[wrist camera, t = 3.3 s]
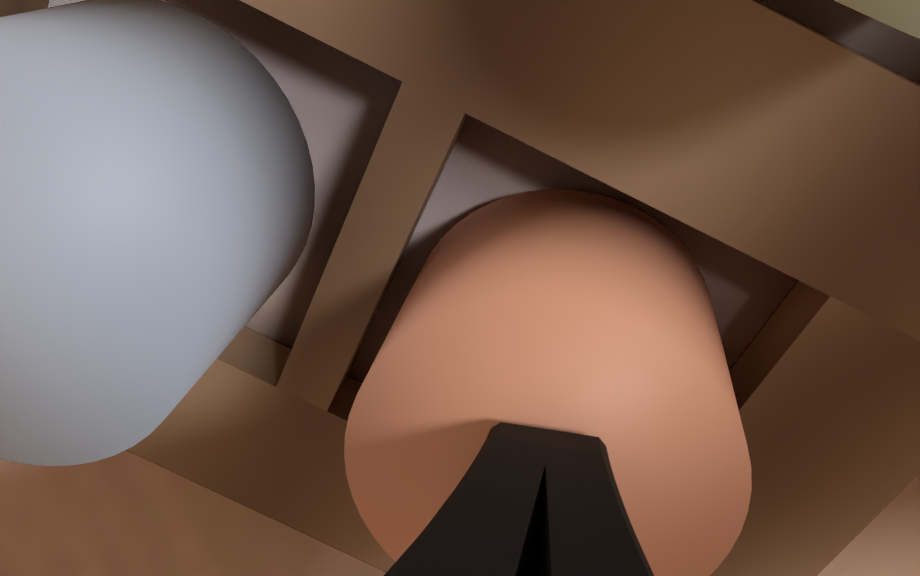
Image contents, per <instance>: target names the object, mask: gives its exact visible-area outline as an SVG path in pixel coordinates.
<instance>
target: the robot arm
mask: <svg viewBox="0 0 920 576" xmlns="http://www.w3.org/2000/svg"><path fill="white" fill-rule="evenodd" d="M384 576H654V574H653V572H652V570H651V568H650V565H649V563H648V561H647V559H646V556H645V554H644V552H643V550H642V548H641V545H640V543H639V541H638V539H637V536H636V534H635V532H634V529H633V527H632V524H631V522H630V519H629V517H628V514H627V512H626V509H625V506H624V504H623V501H622V498H621V496H620V493H619V490H618V487H617V484H616V481H615V478H614V475H613V471H612V468H611V464H610V461H609V457H608V452H607V447H606V445H605V444H604V443H603V442H602V440H601V439H600V438H599V437H595V436H589V435H582V434H576V433H569V432H562V431H556V430H549V429H543V428H536V427H530V426H523V425H517V424H510V423H504V422H500V423H498V424H497V425H495V426H494V427H492V428H491V429H490V431H489V434H488V436H487V438H486V440H485V442H484V444H483V446H482V447H481V449H480V451H479V453H478V454H477V456H476V458H475V459H474V461H473V463H472V464H471V466H470V467H469V469H468V470H467V472H466V473H465V475H464V476H463V478H462V479H461V481H460V482H459V484H458V485H457V487H456V488H455V489H454V491H453V492H452V493H451V495H450V496H449V497H448V499H447V500H446V501H445V503H444V504H443V505H442V507H441V508H440V509H439V510H438V512H437V513H436V514H435V516H434V517H433V518H432V520H431V521H430V522H429V524H428V525H427V526H426V527H425V529H424V530H423V531H422V532H421V534H420V535H419V536H418V537H417V538H416V539H415V541H414V542H413V543H412V544H411V545H410V546H409V547H408V549H407V550H406V551H405V552H404V553H403V554H402V555H401V557H400V558H399V559H398V560H397V561H396V562H395V563H394V565H393V566H392V567H391V568H390V569H389V570H388V571H387V573H386V574H385V575H384Z"/></svg>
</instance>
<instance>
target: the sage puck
mask: <svg viewBox="0 0 920 576" xmlns="http://www.w3.org/2000/svg"><path fill="white" fill-rule="evenodd" d="M834 1H836V2H838V3H841V4H843V5H845V6H847V7H849V8H852V9H854V10H856V11H858V12H860V13H862V14H865V15H867V16H869V17H871V18H873V19H876V20H878V21H880V22H882V23H884V24H886V25H889V26H891V27H893V28H895V29H898V30H900V31H902V32H905V33H907V34H909V35H912V36H914V37H916V38H919V39H920V0H834Z"/></svg>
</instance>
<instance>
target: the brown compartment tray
mask: <svg viewBox="0 0 920 576" xmlns="http://www.w3.org/2000/svg"><path fill="white" fill-rule="evenodd" d="M48 1H49V0H0V17H4V16H9V15H14V14H19V13H25V12H30V11H35V10H40V9H45V8H47V6H48ZM240 1H242V2H244V3H246V4H248V5H250V6H252V7H254V8H256V9H258V10H260V11H262V12H264V13H266V14H268V15H270V16H272V17H274V18H276V19H278V20H280V21H282V22H284V23H286V24H288V25H290V26H292V27H294V28H296V29H298V30H300V31H302V32H304V33H306V34H308V35H310V36H312V37H314V38H316V39H318V40H320V41H322V42H324V43H326V44H328V45H330V46H332V47H334V48H336V49H338V50H340V51H342V52H344V53H346V54H348V55H350V56H352V57H354V58H356V59H358V60H360V61H362V62H364V63H366V64H368V65H370V66H372V67H374V68H376V69H378V70H380V71H382V72H384V73H386V74H388V75H390V76H392V77H394V78H396V79H398V80H400V81H402V84H401V87H400V89H399V91H398V94H397V96H396V99H395V101H394V103H393V106H392V108H391V111H390V113H389V116H388V118H387V120H386V123H385V125H384V128H383V130H382V132H381V135H380V137H379V140H378V142H377V145H376V147H375V149H374V152H373V154H372V157H371V159H370V161H369V164H368V166H367V169H366V171H365V174H364V176H363V178H362V181H361V183H360V186H359V188H358V190H357V193H356V195H355V198H354V200H353V203H352V205H351V207H350V210H349V212H348V215H347V217H346V219H345V222H344V224H343V227H342V229H341V232H340V234H339V236H338V239H337V241H336V244H335V246H334V248H333V251H332V253H331V256H330V258H329V261H328V263H327V265H326V268H325V270H324V273H323V275H322V277H321V280H320V282H319V285H318V287H317V290H316V292H315V294H314V297H313V299H312V302H311V304H310V306H309V309H308V311H307V314H306V316H305V319H304V321H303V323H302V326H301V328H300V331H299V333H298V335H297V338H296V340H295V343H294V345H293V348H292V349H290V348H288V347H286V346H284V345H282V344H280V343H278V342H276V341H273V340H271V339H269V338H267V337H265V336H263V335H261V334H259V333H257V332H255V331H253V330H251V329H249V328H246V327H243V329H242V330H241V331H240V332H239V333H238V334H237V336H236V337H235V338H234V339H233V340H232V341H231V343H230V344H229V345H228V346H227V347H226V348H225V350H224V351H223V352H222V353H221V354H220V355H219V357H218V358H217V359H216V360H215V361H214V362H213V364H212V365H211V366H210V367H209V368H208V369H207V371H206V372H205V373H204V374H203V375H202V376H201V378H200V379H199V380H198V381H197V382H196V383H195V385H194V386H193V387H192V388H191V389H190V390H189V392H188V393H187V394H186V395H185V396H184V397H183V399H182V400H181V401H180V402H179V403H178V404H177V406H176V407H175V408H174V409H173V410H172V411H171V413H170V414H169V415H168V416H167V417H166V418H165V419H164V421H163V422H162V423H161V424H160V425H159V426H158V427H157V428H156V429H155V430H154V431H153V432H152V433H151V434H150V435H148V436H147V437H146V438H144V439H143V440H141V441H140V442H139V443H137V444H136V445H134V446H133V447H131V448H129V449H127V451H129V452H131V453H133V454H136V455H138V456H140V457H142V458H144V459H146V460H148V461H150V462H153V463H155V464H157V465H159V466H161V467H163V468H165V469H167V470H170V471H172V472H174V473H176V474H178V475H180V476H182V477H184V478H187V479H189V480H191V481H193V482H195V483H197V484H199V485H201V486H204V487H206V488H208V489H210V490H212V491H214V492H216V493H219V494H221V495H223V496H225V497H227V498H229V499H231V500H233V501H236V502H238V503H240V504H242V505H244V506H246V507H248V508H250V509H253V510H255V511H257V512H259V513H261V514H263V515H265V516H267V517H270V518H272V519H274V520H276V521H278V522H280V523H282V524H284V525H287V526H289V527H291V528H293V529H295V530H297V531H299V532H301V533H304V534H306V535H308V536H310V537H312V538H314V539H316V540H319V541H321V542H323V543H325V544H327V545H329V546H331V547H333V548H336V549H338V550H340V551H342V552H344V553H346V554H348V555H350V556H353V557H355V558H357V559H359V560H361V561H363V562H365V563H367V564H370V565H372V566H374V567H376V568H378V569H380V570H382V571H384V572H387V571H388V570H389V569H390V568H391V567H392V566H393V565H394V563H395V561H394V560H393V559H392V558H391V557H390V556H389V555H388V554H387V553H386V552H385V551H384V550H383V548H382V547H381V546H380V544H379V543H378V542H377V540H376V539H375V538H374V537H373V535H372V534H371V533H370V531H369V529H368V528H367V526H366V524H365V522H364V521H363V519H362V517H361V516H360V514H359V511H358V509H357V507H356V504H355V502H354V500H353V497H352V495H351V491H350V487H349V484H348V480H347V476H346V468H345V459H344V444H345V432H346V427H347V422H348V417H349V413H350V411H351V408H352V406H353V403H354V400H355V398H356V395H357V393H358V391H359V389H360V387H361V385H362V383H361V382H359V381H357V380H355V379H352V378H350V377H348V376H347V374H348V372H349V370H350V367H351V365H352V363H353V361H354V359H355V357H356V355H357V352H358V350H359V348H360V346H361V344H362V342H363V339H364V337H365V335H366V333H367V331H368V329H369V327H370V324H371V322H372V320H373V318H374V316H375V314H376V312H377V309H378V307H379V305H380V303H381V301H382V299H383V297H384V294H385V292H386V290H387V288H388V286H389V284H390V282H391V279H392V277H393V275H394V273H395V271H396V269H397V267H398V264H399V262H400V260H401V258H402V256H403V254H404V251H405V249H406V247H407V245H408V243H409V241H410V239H411V236H412V234H413V232H414V230H415V228H416V226H417V224H418V221H419V219H420V217H421V215H422V213H423V211H424V209H425V206H426V204H427V202H428V200H429V198H430V196H431V194H432V191H433V189H434V187H435V185H436V183H437V181H438V178H439V176H440V174H441V172H442V170H443V168H444V166H445V163H446V161H447V159H448V157H449V155H450V153H451V151H452V148H453V146H454V144H455V142H456V140H457V138H458V136H459V133H460V131H461V129H462V127H463V125H464V123H465V121H466V118H467V116H468V115H470V116H472V117H474V118H476V119H478V120H480V121H482V122H484V123H486V124H488V125H490V126H492V127H494V128H496V129H498V130H500V131H502V132H504V133H506V134H507V135H509V136H511V137H513V138H515V139H517V140H519V141H521V142H523V143H525V144H527V145H529V146H531V147H533V148H535V149H537V150H539V151H541V152H543V153H545V154H547V155H549V156H551V157H553V158H555V159H557V160H559V161H561V162H563V163H565V164H567V165H569V166H571V167H573V168H575V169H577V170H579V171H581V172H583V173H585V174H587V175H589V176H591V177H593V178H595V179H597V180H599V181H601V182H603V183H605V184H607V185H609V186H611V187H613V188H615V189H617V190H619V191H621V192H623V193H625V194H627V195H629V196H631V197H633V198H635V199H637V200H639V201H641V202H643V203H645V204H647V205H649V206H651V207H653V208H655V209H657V210H659V211H661V212H663V213H665V214H667V215H669V216H671V217H673V218H675V219H677V220H679V221H681V222H683V223H685V224H687V225H689V226H691V227H693V228H695V229H697V230H699V231H701V232H703V233H705V234H707V235H709V236H711V237H713V238H715V239H717V240H719V241H721V242H723V243H725V244H727V245H729V246H731V247H733V248H735V249H737V250H739V251H741V252H743V253H745V254H747V255H749V256H751V257H753V258H755V259H757V260H759V261H761V262H763V263H765V264H767V265H769V266H771V267H773V268H775V269H777V270H779V271H781V272H783V273H785V274H787V275H789V276H791V277H793V278H795V279H797V280H799V281H798V282H797V284H796V285H795V286H794V288H793V289H792V290H791V291H790V293H789V294H788V295H787V297H786V298H785V299H784V301H783V302H782V303H781V304H780V306H779V307H778V308H777V310H776V311H775V312H774V314H773V315H772V316H771V318H770V319H769V320H768V321H767V323H766V324H765V325H764V327H763V328H762V329H761V331H760V332H759V333H758V335H757V336H756V337H755V338H754V340H753V341H752V342H751V344H750V345H749V346H748V348H747V349H746V350H745V352H744V353H743V354H742V355H741V357H740V358H739V359H738V361H737V362H736V363H735V365H734V366H733V367H732V368H731V370H730V371H729V374H730V378H731V382H732V386H733V390H734V394H735V398H736V402H737V406H738V410H739V414H740V418H741V422H742V426H743V430H744V434H745V438H746V442H747V446H748V452H749V457H750V463H751V479H752V490H751V497H750V503H749V509H748V513H747V516H746V519H745V522H744V525H743V527H742V530H741V533H740V535H739V536H738V538H737V540H736V542H735V544H734V546H733V547H732V549H731V551H730V552H729V554H728V555H727V556H726V558H725V559H724V560H723V561H722V563H721V564H720V565H719V567H718V568H717V569H716V570H715V571H714V572H713V573H712V574H711V575H710V576H817V575H818V574H819V573H820V572H821V571H822V570H823V569H824V568H825V567H826V566H827V565H828V564H829V563H830V562H831V561H832V560H833V559H834V558H835V557H836V556H837V555H838V554H839V553H840V552H841V551H842V550H843V549H844V548H845V547H846V546H847V545H848V544H849V543H850V542H851V541H852V540H853V539H854V538H855V537H856V536H857V535H858V534H859V533H860V532H861V531H862V530H863V529H864V528H865V527H866V526H867V525H868V524H869V523H870V522H871V521H872V520H873V519H874V518H875V517H876V516H877V515H878V514H879V513H880V512H881V511H882V510H883V509H884V508H885V507H886V506H887V505H888V504H889V503H890V502H891V501H892V500H893V499H894V498H895V497H896V496H897V495H898V494H899V493H900V492H901V491H902V490H903V489H904V488H905V487H906V486H907V485H908V484H909V482H910V481H911V480H912V479H913V478H914V477H915V476H916V475H917V474H918V473H919V472H920V84H918V83H916V82H914V81H912V80H910V79H908V78H906V77H904V76H902V75H900V74H898V73H896V72H894V71H893V70H891V69H889V68H887V67H885V66H883V65H881V64H879V63H877V62H875V61H873V60H871V59H869V58H867V57H865V56H864V55H862V54H860V53H858V52H856V51H854V50H852V49H850V48H848V47H846V46H844V45H842V44H840V43H838V42H837V41H835V40H833V39H831V38H829V37H827V36H825V35H823V34H821V33H819V32H817V31H815V30H813V29H811V28H809V27H808V26H806V25H804V24H802V23H800V22H798V21H796V20H794V19H792V18H790V17H788V16H786V15H784V14H782V13H781V12H779V11H777V10H775V9H773V8H771V7H769V6H767V5H765V4H763V3H761V2H759V1H757V0H240Z"/></svg>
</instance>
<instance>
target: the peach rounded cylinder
mask: <svg viewBox="0 0 920 576" xmlns="http://www.w3.org/2000/svg"><path fill="white" fill-rule="evenodd" d="M500 422H504V423H510V424H517V425H523V426H530V427H536V428H543V429H549V430H556V431H562V432H569V433H576V434H582V435H589V436H595V437H599V438H600V439H601V440H602V442H603V443H604V444H605V445H606V447H607V452H608V457H609V461H610V464H611V468H612V471H613V475H614V478H615V481H616V484H617V487H618V490H619V493H620V496H621V498H622V501H623V504H624V506H625V509H626V512H627V514H628V517H629V519H630V522H631V524H632V527H633V529H634V532H635V534H636V536H637V539H638V541H639V543H640V545H641V548H642V550H643V552H644V554H645V556H646V559H647V561H648V563H649V565H650V568H651V570H652V572H653V574H654V576H710V575H711V574H712V573H713V572H714V571H715V570H716V569H717V568H718V567H719V565H720V564H721V563H722V561H723V560H724V559H725V558H726V556H727V555H728V554H729V552H730V551H731V549H732V547H733V546H734V544H735V542H736V540H737V538H738V536H739V535H740V533H741V530H742V527H743V525H744V522H745V519H746V516H747V513H748V509H749V503H750V497H751V490H752V479H751V463H750V457H749V452H748V446H747V442H746V438H745V434H744V430H743V426H742V422H741V418H740V414H739V410H738V406H737V402H736V398H735V394H734V390H733V386H732V382H731V378H730V374H729V370H728V366H727V361H726V357H725V353H724V349H723V345H722V341H721V337H720V333H719V329H718V325H717V321H716V317H715V313H714V309H713V305H712V301H711V297H710V294H709V291H708V288H707V286H706V283H705V280H704V277H703V276H702V274H701V272H700V270H699V268H698V266H697V264H696V262H695V261H694V259H693V258H692V257H691V255H690V254H689V253H688V251H687V250H686V248H685V247H684V246H683V245H682V244H681V243H680V242H679V240H678V239H677V238H676V237H675V236H674V235H673V234H672V233H671V232H670V231H669V230H667V229H666V228H665V227H664V226H662V225H661V224H660V223H658V222H657V221H656V220H655V219H653V218H652V217H650V216H648V215H647V214H645V213H643V212H642V211H640V210H638V209H636V208H635V207H632V206H630V205H628V204H625V203H623V202H621V201H618V200H616V199H613V198H610V197H606V196H603V195H599V194H595V193H590V192H584V191H577V190H562V189H548V190H538V191H529V192H524V193H520V194H515V195H511V196H508V197H505V198H502V199H499V200H497V201H494V202H491V203H489V204H487V205H485V206H483V207H481V208H480V209H478V210H476V211H474V212H472V213H471V214H469V215H468V216H466V217H465V218H464V219H462V220H461V221H459V222H458V223H457V224H456V225H454V226H453V227H452V228H451V229H450V230H449V231H448V232H447V233H446V234H445V235H444V236H443V237H442V238H441V239H440V241H439V242H438V243H437V245H436V246H435V247H434V248H433V250H432V251H431V253H430V254H429V256H428V258H427V259H426V261H425V263H424V265H423V266H422V268H421V270H420V272H419V274H418V276H417V278H416V280H415V282H414V284H413V286H412V288H411V290H410V292H409V294H408V296H407V298H406V300H405V302H404V303H403V305H402V307H401V309H400V311H399V313H398V315H397V317H396V319H395V321H394V323H393V325H392V327H391V329H390V331H389V333H388V335H387V337H386V339H385V341H384V342H383V344H382V346H381V348H380V350H379V352H378V354H377V356H376V358H375V360H374V362H373V364H372V366H371V368H370V370H369V372H368V374H367V376H366V378H365V380H364V382H363V383H362V385H361V387H360V389H359V391H358V393H357V395H356V398H355V400H354V403H353V406H352V408H351V411H350V413H349V417H348V422H347V427H346V432H345V444H344V459H345V468H346V476H347V480H348V484H349V487H350V491H351V495H352V497H353V500H354V502H355V504H356V507H357V509H358V511H359V514H360V516H361V517H362V519H363V521H364V522H365V524H366V526H367V528H368V529H369V531H370V533H371V534H372V535H373V537H374V538H375V539H376V540H377V542H378V543H379V544H380V546H381V547H382V548H383V550H384V551H385V552H386V553H387V554H388V555H389V556H390V557H391V558H392V559H393V560H394V561H395V562H396V561H397V560H398V559H399V558H400V557H401V555H402V554H403V553H404V552H405V551H406V550H407V549H408V547H409V546H410V545H411V544H412V543H413V542H414V541H415V539H416V538H417V537H418V536H419V535H420V534H421V532H422V531H423V530H424V529H425V527H426V526H427V525H428V524H429V522H430V521H431V520H432V518H433V517H434V516H435V514H436V513H437V512H438V510H439V509H440V508H441V507H442V505H443V504H444V503H445V501H446V500H447V499H448V497H449V496H450V495H451V493H452V492H453V491H454V489H455V488H456V487H457V485H458V484H459V482H460V481H461V479H462V478H463V476H464V475H465V473H466V472H467V470H468V469H469V467H470V466H471V464H472V463H473V461H474V459H475V458H476V456H477V454H478V453H479V451H480V449H481V447H482V446H483V444H484V442H485V440H486V438H487V436H488V434H489V431H490V429H491V428H492V427H494V426H495V425H497V424H498V423H500Z"/></svg>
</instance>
